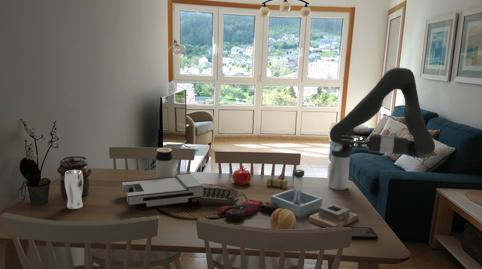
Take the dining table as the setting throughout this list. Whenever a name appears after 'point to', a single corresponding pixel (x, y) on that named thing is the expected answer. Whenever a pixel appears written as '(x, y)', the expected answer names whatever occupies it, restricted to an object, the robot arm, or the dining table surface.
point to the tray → (286, 202)
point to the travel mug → (163, 163)
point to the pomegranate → (241, 176)
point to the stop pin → (297, 186)
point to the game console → (162, 191)
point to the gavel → (277, 182)
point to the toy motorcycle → (246, 209)
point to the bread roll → (282, 219)
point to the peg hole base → (333, 216)
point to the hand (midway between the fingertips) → (340, 139)
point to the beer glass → (74, 188)
